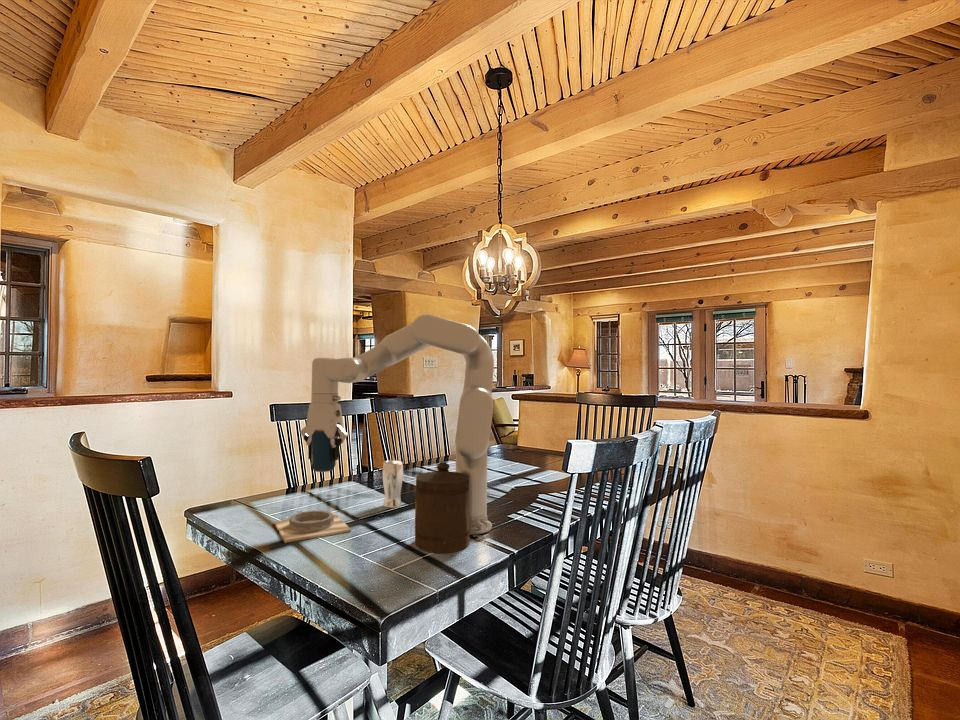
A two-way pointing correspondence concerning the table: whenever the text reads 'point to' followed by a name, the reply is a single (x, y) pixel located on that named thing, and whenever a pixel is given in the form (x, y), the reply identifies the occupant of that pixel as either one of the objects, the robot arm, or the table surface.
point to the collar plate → (309, 535)
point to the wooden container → (442, 511)
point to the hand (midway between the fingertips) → (323, 458)
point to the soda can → (321, 452)
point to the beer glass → (392, 482)
